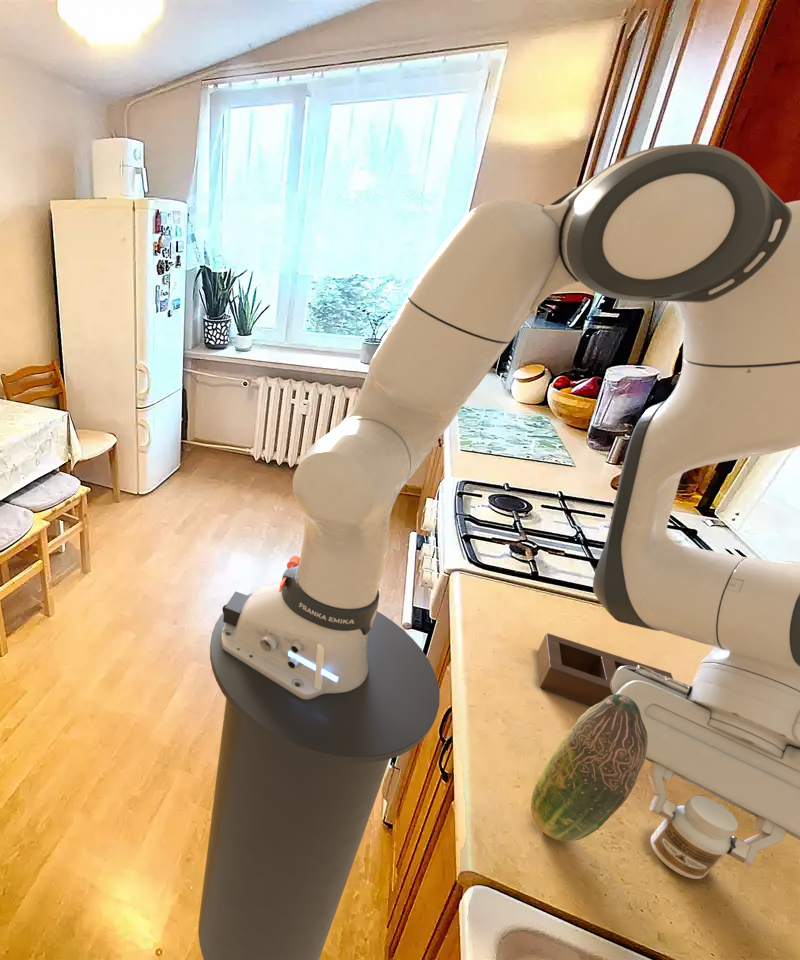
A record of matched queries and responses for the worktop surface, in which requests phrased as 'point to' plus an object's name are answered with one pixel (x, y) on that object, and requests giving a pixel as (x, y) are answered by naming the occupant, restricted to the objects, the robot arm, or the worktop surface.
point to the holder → (579, 669)
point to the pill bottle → (695, 837)
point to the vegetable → (591, 770)
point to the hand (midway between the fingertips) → (697, 837)
